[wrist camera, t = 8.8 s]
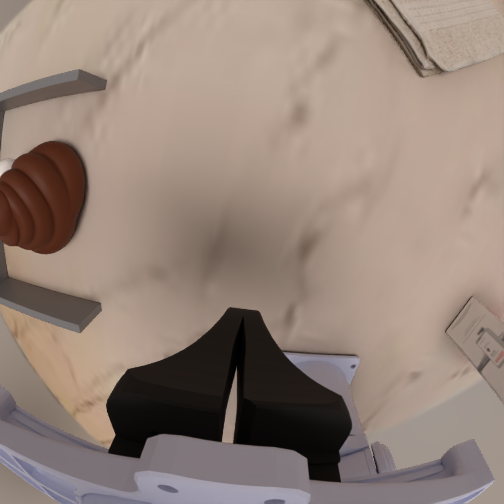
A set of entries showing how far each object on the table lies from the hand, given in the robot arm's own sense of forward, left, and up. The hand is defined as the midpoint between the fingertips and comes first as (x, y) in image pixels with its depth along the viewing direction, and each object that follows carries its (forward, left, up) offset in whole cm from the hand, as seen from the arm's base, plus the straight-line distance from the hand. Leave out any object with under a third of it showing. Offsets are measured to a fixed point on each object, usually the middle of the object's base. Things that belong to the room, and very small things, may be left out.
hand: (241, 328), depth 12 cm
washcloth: (+26, -15, -10) cm, 32 cm away
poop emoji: (+3, +18, -10) cm, 21 cm away
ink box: (-5, -25, -10) cm, 27 cm away
